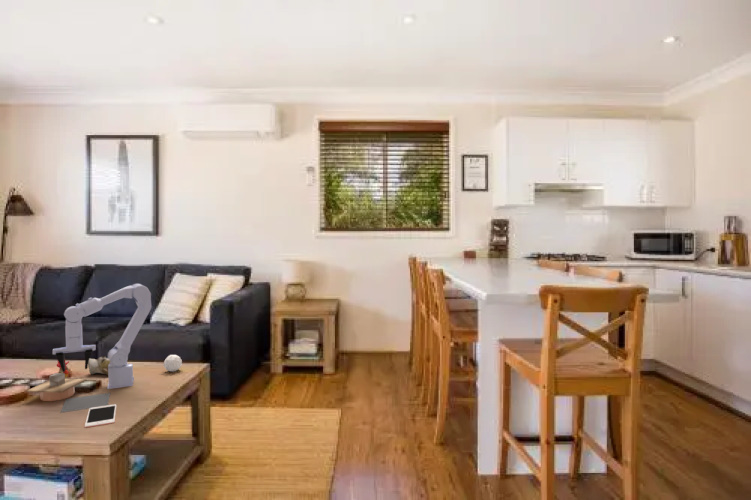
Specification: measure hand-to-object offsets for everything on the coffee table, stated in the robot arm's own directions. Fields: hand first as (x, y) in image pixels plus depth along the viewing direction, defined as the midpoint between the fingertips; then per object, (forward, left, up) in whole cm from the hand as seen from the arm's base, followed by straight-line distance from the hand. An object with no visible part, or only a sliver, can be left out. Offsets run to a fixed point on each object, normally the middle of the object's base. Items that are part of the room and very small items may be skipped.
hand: (75, 369), depth 189 cm
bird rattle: (+7, -17, -10) cm, 21 cm away
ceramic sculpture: (-9, -25, -10) cm, 28 cm away
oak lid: (+6, +1, -5) cm, 8 cm away
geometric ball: (-37, -15, -10) cm, 41 cm away
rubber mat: (-5, +14, -10) cm, 18 cm away
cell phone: (-11, +30, -10) cm, 34 cm away
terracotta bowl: (+6, +1, -10) cm, 12 cm away
